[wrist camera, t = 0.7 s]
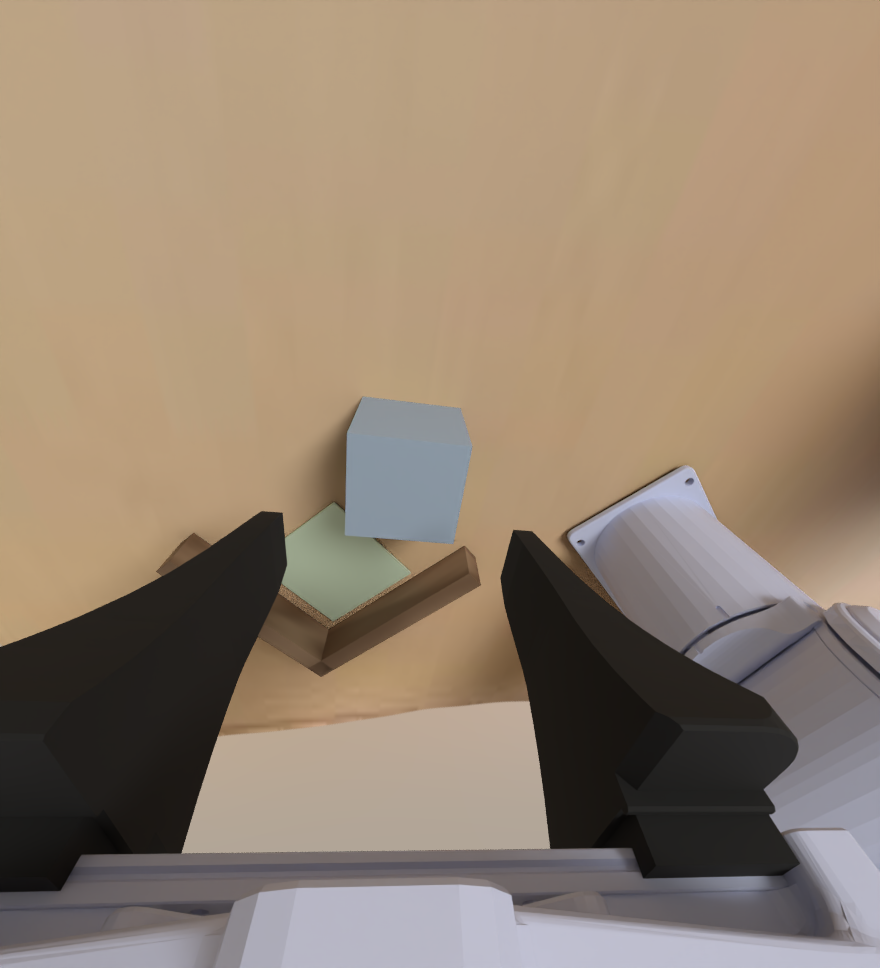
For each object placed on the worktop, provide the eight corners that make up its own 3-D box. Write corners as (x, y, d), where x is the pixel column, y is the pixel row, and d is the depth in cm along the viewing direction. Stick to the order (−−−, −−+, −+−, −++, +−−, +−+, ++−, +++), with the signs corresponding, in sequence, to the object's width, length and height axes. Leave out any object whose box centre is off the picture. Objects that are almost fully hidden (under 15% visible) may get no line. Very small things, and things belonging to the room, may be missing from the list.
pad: (410, 571, 25) (410, 573, 25) (333, 619, 27) (333, 621, 27) (334, 501, 22) (333, 503, 22) (253, 560, 24) (252, 562, 24)
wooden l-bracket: (475, 557, 25) (480, 585, 22) (328, 645, 28) (321, 676, 26) (340, 413, 19) (330, 431, 17) (181, 543, 23) (156, 571, 21)
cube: (460, 407, 20) (472, 446, 15) (446, 490, 22) (453, 543, 18) (363, 396, 19) (347, 433, 15) (359, 481, 22) (344, 535, 17)
